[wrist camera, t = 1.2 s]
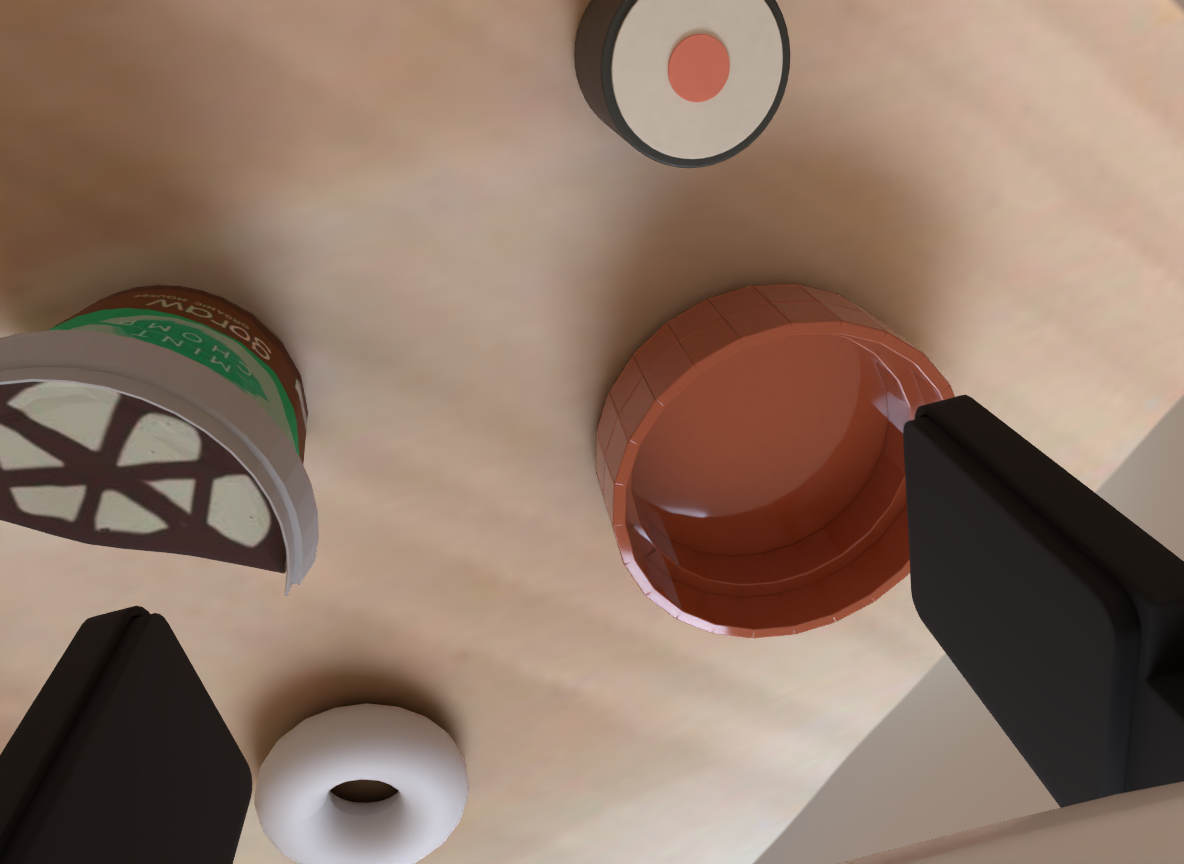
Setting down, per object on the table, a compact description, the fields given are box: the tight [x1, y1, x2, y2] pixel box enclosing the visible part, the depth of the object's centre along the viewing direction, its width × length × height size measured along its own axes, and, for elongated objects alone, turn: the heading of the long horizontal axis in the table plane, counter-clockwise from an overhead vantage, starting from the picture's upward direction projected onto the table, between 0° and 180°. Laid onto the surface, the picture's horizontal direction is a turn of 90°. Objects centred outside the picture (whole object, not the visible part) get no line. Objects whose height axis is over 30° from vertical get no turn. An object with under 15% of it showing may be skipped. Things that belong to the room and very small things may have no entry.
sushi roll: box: [574, 0, 790, 168], centre depth 27 cm, size 6×6×6 cm
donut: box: [254, 704, 469, 864], centre depth 41 cm, size 10×4×10 cm
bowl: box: [596, 284, 955, 638], centre depth 35 cm, size 14×14×5 cm
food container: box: [0, 285, 318, 596], centre depth 28 cm, size 12×6×10 cm, turn 70°
